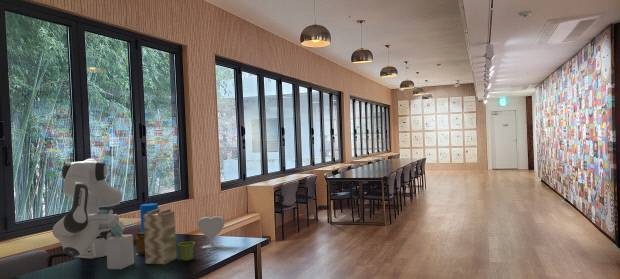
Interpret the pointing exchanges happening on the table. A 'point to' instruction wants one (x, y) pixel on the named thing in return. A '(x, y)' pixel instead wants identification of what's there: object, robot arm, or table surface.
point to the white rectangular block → (120, 251)
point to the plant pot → (186, 250)
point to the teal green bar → (118, 227)
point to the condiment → (140, 243)
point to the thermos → (145, 209)
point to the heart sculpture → (211, 228)
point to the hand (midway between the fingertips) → (107, 210)
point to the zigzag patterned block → (159, 237)
